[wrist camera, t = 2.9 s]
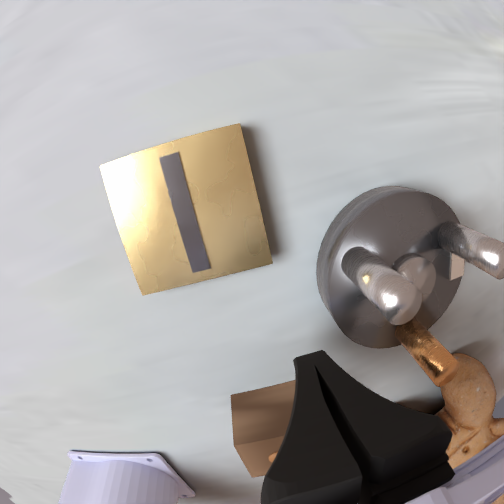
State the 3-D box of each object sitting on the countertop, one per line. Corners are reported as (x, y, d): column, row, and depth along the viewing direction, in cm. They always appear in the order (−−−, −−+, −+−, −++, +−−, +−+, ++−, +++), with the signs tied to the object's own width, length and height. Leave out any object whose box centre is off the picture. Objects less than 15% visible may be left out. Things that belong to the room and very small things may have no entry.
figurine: (463, 328, 17) (577, 455, 5) (464, 360, 22) (546, 454, 10) (355, 427, 18) (449, 567, 6) (384, 433, 24) (455, 534, 11)
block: (246, 430, 18) (252, 478, 14) (230, 394, 17) (233, 447, 13) (304, 417, 18) (318, 463, 14) (296, 378, 17) (312, 429, 13)
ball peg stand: (325, 345, 16) (365, 424, 10) (303, 204, 13) (359, 241, 8) (441, 303, 16) (500, 354, 10) (440, 175, 13) (524, 194, 8)
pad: (147, 286, 14) (142, 296, 13) (108, 164, 12) (99, 166, 11) (269, 255, 14) (273, 264, 13) (238, 125, 12) (239, 122, 11)
